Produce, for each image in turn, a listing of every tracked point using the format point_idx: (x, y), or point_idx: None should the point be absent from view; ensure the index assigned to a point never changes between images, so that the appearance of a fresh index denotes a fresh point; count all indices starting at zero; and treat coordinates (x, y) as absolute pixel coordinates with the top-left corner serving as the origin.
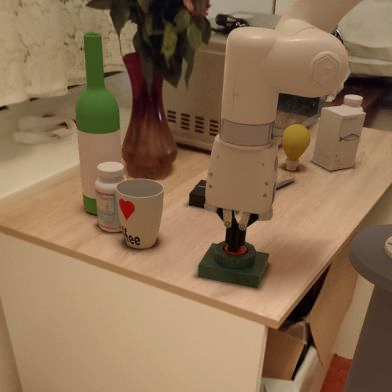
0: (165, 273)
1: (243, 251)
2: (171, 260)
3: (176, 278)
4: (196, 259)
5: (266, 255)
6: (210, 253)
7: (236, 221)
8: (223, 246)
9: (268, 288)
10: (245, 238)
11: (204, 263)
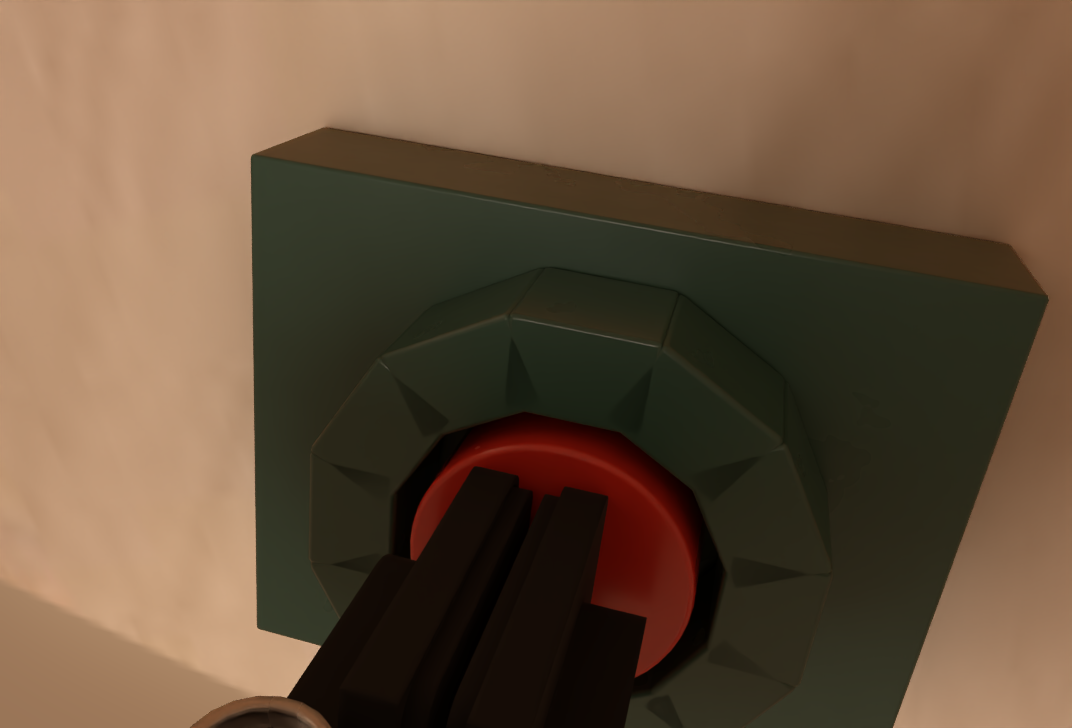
0: (74, 533)
1: (654, 640)
2: (28, 331)
3: (174, 591)
4: (216, 271)
5: (996, 361)
6: (301, 417)
7: (382, 717)
8: (392, 517)
9: (971, 682)
10: (638, 658)
11: (300, 606)
